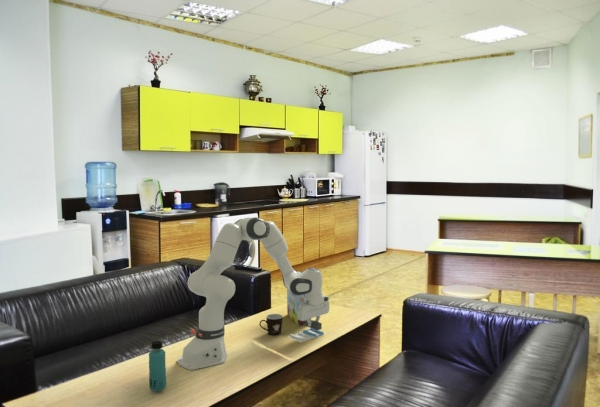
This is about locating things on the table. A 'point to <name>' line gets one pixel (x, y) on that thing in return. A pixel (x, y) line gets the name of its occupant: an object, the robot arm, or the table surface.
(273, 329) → the coffee mug
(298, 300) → the snack box
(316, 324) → the grey rectangular prism
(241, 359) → the table surface
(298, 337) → the white ridged tray
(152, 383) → the beverage bottle
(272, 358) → the table surface
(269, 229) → the robot arm
